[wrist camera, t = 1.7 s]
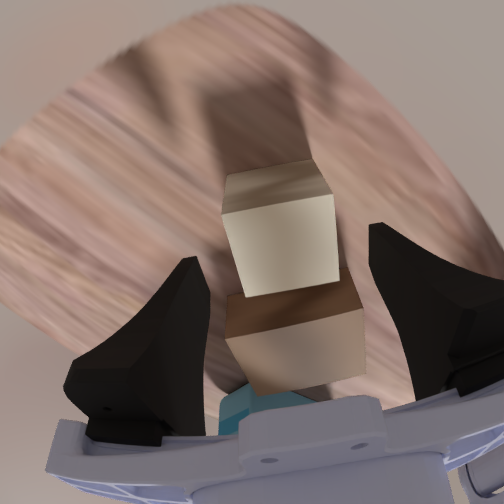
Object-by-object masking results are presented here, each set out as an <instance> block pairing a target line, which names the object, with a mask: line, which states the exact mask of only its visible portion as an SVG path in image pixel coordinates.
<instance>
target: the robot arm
mask: <svg viewBox="0 0 504 504" xmlns="http://www.w3.org/2000/svg"><path fill="white" fill-rule="evenodd" d="M369 267H370V270H371V273H372V276H373V278H374V281H375V284H376V286H377V288H378V290H379V292H380V294H381V296H382V298H383V300H384V302H385V304H386V306H387V308H388V310H389V313H390V315H391V317H392V319H393V321H394V323H395V325H396V328H397V330H398V333H399V336H400V339H401V342H402V346H403V349H404V352H405V356H406V359H407V363H408V367H409V371H410V375H411V380H412V384H413V388H414V394H415V399H416V401H415V402H412V403H409V404H405V405H402V406H398V407H395V408H391V409H387V410H383V411H382V407H381V404H380V401H379V399H377V398H375V397H371V396H367V395H357V396H347V397H343V398H338V399H333V400H327V401H322V402H316V403H311V404H305V405H298V406H292V407H285V408H277V409H269V410H264V411H260V412H256V413H251V414H250V415H248V416H247V417H245V418H244V419H242V420H241V421H239V429H238V434H236V435H219V436H206V432H205V420H204V395H203V365H204V354H205V347H206V340H207V333H208V326H209V319H210V290H209V288H208V285H207V283H206V280H205V277H204V275H203V272H202V269H201V267H200V264H199V261H198V259H197V256H193V257H188V258H183V259H182V260H181V261H180V262H179V264H178V265H177V266H176V267H175V269H174V270H173V271H172V273H171V274H170V275H169V277H168V278H167V279H166V281H165V282H164V283H163V284H162V286H161V287H160V288H159V289H158V291H157V292H156V293H155V294H154V295H153V297H152V298H151V299H150V300H149V301H148V302H147V304H146V305H145V306H144V307H143V308H142V309H141V310H140V311H139V312H138V313H137V314H136V315H135V316H134V317H133V318H132V319H131V320H130V321H129V322H128V323H126V324H125V325H124V326H123V327H122V328H121V329H119V330H118V331H117V332H116V333H115V334H113V335H112V336H111V337H109V338H108V339H107V340H105V341H104V342H103V343H101V344H100V345H98V346H97V347H95V348H94V349H92V350H90V351H89V352H87V353H85V354H84V355H82V356H80V357H78V358H77V359H75V360H73V362H72V364H71V367H70V369H69V372H68V375H67V378H66V380H65V383H64V386H63V389H64V392H65V394H66V396H67V397H68V399H69V400H71V402H72V403H73V404H75V406H77V407H78V408H79V409H80V410H81V411H82V412H83V413H84V414H86V415H87V416H88V417H89V420H88V424H85V423H83V422H79V421H73V420H64V419H60V420H59V423H58V425H57V429H56V432H55V435H54V439H53V442H52V446H51V450H50V453H49V457H48V461H47V465H46V469H45V471H46V472H47V473H49V474H50V475H52V476H54V477H56V478H58V479H59V480H61V481H63V482H65V483H67V484H69V485H71V486H73V487H75V488H76V489H79V490H81V491H83V492H86V493H90V494H93V495H97V496H102V497H106V498H110V499H115V500H119V501H124V502H129V503H134V504H454V500H453V495H452V491H451V487H450V484H449V480H448V476H447V472H449V471H451V470H453V469H456V468H458V474H459V479H460V482H461V485H462V488H463V490H464V491H465V493H466V495H467V497H468V499H469V502H470V504H504V491H503V492H501V493H498V494H492V492H494V491H496V490H497V489H499V488H501V487H503V486H504V280H499V279H495V278H491V277H488V276H484V275H481V274H478V273H475V272H472V271H469V270H467V269H464V268H462V267H459V266H457V265H454V264H452V263H450V262H448V261H446V260H444V259H442V258H440V257H438V256H436V255H434V254H432V253H431V252H429V251H427V250H425V249H424V248H422V247H420V246H419V245H417V244H416V243H414V242H412V241H411V240H409V239H408V238H406V237H405V236H403V235H402V234H400V233H399V232H397V231H396V230H394V229H393V228H391V227H390V226H388V225H386V224H385V223H383V222H380V223H375V224H369Z"/></svg>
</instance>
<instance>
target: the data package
mask: <svg viewBox="0 0 504 504" xmlns="http://www.w3.org/2000/svg"><path fill="white" fill-rule="evenodd" d="M311 403H316V401H314V400H311V399H309V398H306V397H304V396H301V395H299V394H296V393H294V392H292V391H288V392H282V393H277V394H271V395H265V396H258V397H257V395H256V393H255V391H254V390H253V388H252V386H251V385H250V383H248V384H246V385H244V386H243V387H241V388H239V389H238V390H236V391H234V392H233V393H231V394H229V395H227V396H226V397H224V398H223V399H222V400H221V403H220V410H219V433H218V436H219V435H236V434H238V429H239V421H241V420H242V419H244V418H245V417H247V416H248V415H250V414H251V413H256V412H260V411H264V410H269V409H277V408H285V407H292V406H298V405H305V404H311Z"/></svg>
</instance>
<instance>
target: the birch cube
mask: <svg viewBox="0 0 504 504" xmlns="http://www.w3.org/2000/svg"><path fill="white" fill-rule="evenodd" d="M221 216H222V220H223V223H224V226H225V230H226V233H227V237H228V240H229V243H230V247H231V250H232V254H233V257H234V260H235V264H236V267H237V270H238V274H239V277H240V280H241V283H242V287H243V290H244V293H245V297H252V296H258V295H264V294H270V293H275V292H281V291H287V290H292V289H298V288H304V287H309V286H314V285H320V284H325V283H330V282H335V281H340V280H339V261H338V246H337V232H336V219H335V208H334V197H333V193H332V191H331V189H330V188H329V186H328V184H327V182H326V181H325V179H324V177H323V176H322V174H321V172H320V170H319V169H318V167H317V165H316V164H315V162H314V160H313V159H309V160H303V161H297V162H291V163H286V164H280V165H275V166H270V167H264V168H259V169H254V170H249V171H244V172H239V173H234V174H230V175H227V178H226V185H225V191H224V198H223V205H222V212H221Z"/></svg>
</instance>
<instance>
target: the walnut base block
mask: <svg viewBox="0 0 504 504" xmlns="http://www.w3.org/2000/svg"><path fill="white" fill-rule="evenodd" d="M339 280H340V281H335V282H330V283H325V284H320V285H314V286H309V287H304V288H298V289H292V290H287V291H281V292H275V293H270V294H264V295H258V296H252V297H245V293H244V292H243V293H239V294H234V295H230V296H227V311H226V326H225V341H226V342H227V344H228V346H229V348H230V350H231V351H232V353H233V355H234V357H235V359H236V360H237V362H238V364H239V366H240V367H241V369H242V371H243V373H244V374H245V376H246V378H247V380H248V381H249V383H250V385H251V386H252V388H253V390H254V391H255V393H256V395H257V397H258V396H265V395H271V394H277V393H282V392H288V391H293V390H298V389H303V388H308V387H313V386H318V385H322V384H327V383H331V382H335V381H340V380H344V379H348V378H352V377H356V376H360V375H363V374H366V348H365V326H364V309H363V306H362V303H361V300H360V298H359V295H358V292H357V290H356V287H355V285H354V282H353V279H352V277H351V274H350V272H349V269H348V267H347V268H343V269H339Z"/></svg>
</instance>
